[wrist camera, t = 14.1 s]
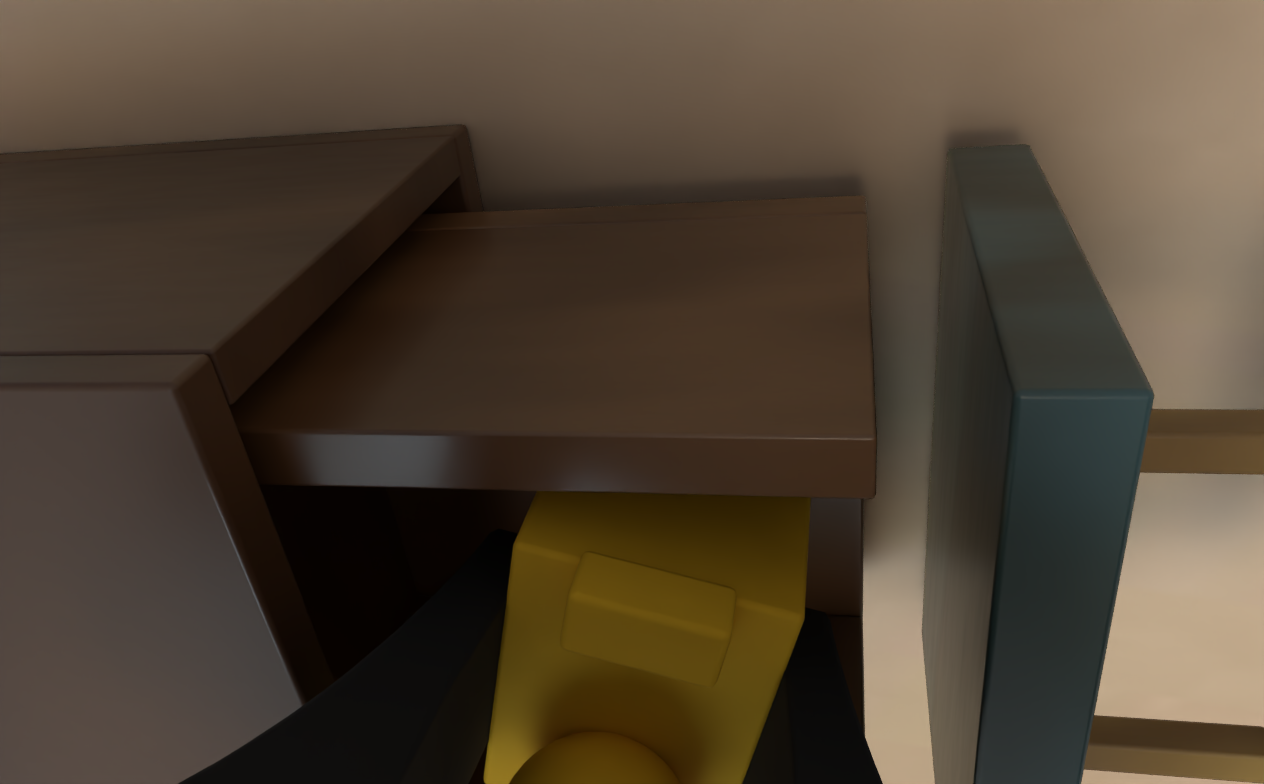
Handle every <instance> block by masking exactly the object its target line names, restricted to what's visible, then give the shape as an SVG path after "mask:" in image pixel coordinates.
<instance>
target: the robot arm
mask: <svg viewBox="0 0 1264 784" xmlns="http://www.w3.org/2000/svg"><path fill="white" fill-rule="evenodd" d="M517 535H518V533H514V532H510V531H506V530H502V529H497V530H495V531H492V532H490V533H489V535H488V536H487V537H486V538H485V540H484V541H483V542H482V543H481V544H480V546H479V547H478V548H477V549H476V550H475V551H474V553H473V554H472V555H471V556H470V557H469V558H468V559H467V561H466V562H465V563H464V564H463V565H462V566H461V567H460V568H459V569H458V570H457V571H456V573H455V574H454V575H453V576H452V577H451V578H450V579H449V580H448V581H447V582H446V583H445V584H444V585H443V586H442V587H441V588H440V589H439V590H438V591H437V592H436V593H435V594H434V595H433V596H432V597H431V598H430V599H429V600H428V601H427V602H426V603H425V604H424V605H423V606H422V607H421V608H419V609H418V610H417V611H416V612H415V613H414V614H413V615H412V616H411V617H410V618H409V619H408V620H407V621H406V622H405V623H404V624H403V625H402V626H401V627H399V628H398V629H397V630H396V631H395V632H394V633H393V634H392V635H390V636H389V637H388V638H387V639H386V640H385V641H383V642H382V643H381V644H380V645H379V646H378V647H376V648H375V649H374V650H373V651H372V652H371V653H369V654H368V655H367V656H366V657H365V658H363V659H362V660H361V661H360V662H359V663H358V664H356V665H355V666H354V667H353V668H352V669H350V670H349V671H348V672H347V673H345V674H344V675H343V676H342V677H340V678H339V679H338V680H336V681H335V682H334V683H333V684H331V685H330V686H329V687H327V688H326V689H325V690H323V691H322V692H321V693H319V694H318V695H317V696H315V697H314V698H313V699H311V700H310V701H308V702H307V703H306V704H304V705H303V706H302V707H300V708H299V709H297V710H296V711H295V712H293V713H292V714H290V715H289V716H287V717H286V718H284V719H283V720H281V721H280V722H278V723H277V724H275V725H274V726H272V727H271V728H269V729H268V730H266V731H265V732H263V733H262V734H260V735H259V736H257V737H256V738H254V739H253V740H251V741H250V742H248V743H247V744H245V745H243V746H242V747H240V748H239V749H237V750H235V751H234V752H232V753H230V754H229V755H227V756H226V757H224V758H222V759H221V760H219V761H217V762H216V763H214V764H212V765H210V766H208V767H207V768H205V769H203V770H201V771H199V772H198V773H196V774H194V775H192V776H190V777H189V778H187V779H185V780H183V781H182V782H180V783H178V784H469V782H470V780H471V777H472V775H473V773H474V771H475V769H476V767H477V764H478V762H479V760H480V758H481V756H482V753H483V751H484V749H485V747H486V745H487V742H488V740H489V732H490V724H491V717H492V709H493V701H494V693H495V686H496V678H497V670H498V662H499V655H500V647H501V639H502V631H503V624H504V616H505V608H506V601H507V590H508V582H509V575H510V567H511V559H512V551H513V544H514V542H515V540H516V537H517ZM743 784H883V783H882V781H881V778H880V776H879V773H878V771H877V768H876V766H875V763H874V760H873V758H872V755H871V752H870V750H869V747H868V744H867V741H866V739H865V736H864V733H863V730H862V728H861V725H860V722H859V720H858V717H857V714H856V711H855V708H854V705H853V702H852V699H851V695H850V692H849V689H848V686H847V682H846V679H845V676H844V672H843V669H842V665H841V662H840V658H839V655H838V651H837V647H836V643H835V639H834V635H833V630H832V626H831V621H830V619H829V618H828V616H827V615H826V613H825V612H822V611H818V610H814V609H810V608H806V607H805V619H804V622H803V625H802V627H801V630H800V633H799V635H798V638H797V641H796V643H795V646H794V649H793V651H792V654H791V657H790V659H789V662H788V665H787V667H786V670H785V671H784V674H783V677H782V679H781V682H780V685H779V687H778V690H777V693H776V695H775V698H774V701H773V703H772V706H771V709H770V711H769V714H768V717H767V720H766V722H765V725H764V728H763V730H762V733H761V736H760V738H759V741H758V744H757V746H756V749H755V752H754V754H753V757H752V760H751V762H750V765H749V768H748V770H747V773H746V776H745V778H744V781H743Z"/></svg>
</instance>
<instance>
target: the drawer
mask: <svg viewBox="0 0 1264 784" xmlns="http://www.w3.org/2000/svg"><path fill="white" fill-rule="evenodd" d="M1153 400H1154V393H1153V390H1152V388H1151V386H1150V384H1149V382H1148V380H1147V378H1146V376H1145V374H1144V372H1143V370H1142V368H1141V366H1140V364H1139V362H1138V360H1137V358H1136V356H1135V354H1134V352H1133V350H1132V348H1131V346H1130V344H1129V342H1128V340H1127V338H1126V336H1125V334H1124V332H1123V330H1122V328H1121V326H1120V324H1119V322H1118V320H1117V318H1116V316H1115V314H1114V312H1113V310H1112V308H1111V306H1110V304H1109V303H1108V301H1107V299H1106V297H1105V295H1104V293H1103V291H1102V289H1101V287H1100V285H1099V283H1098V281H1097V279H1096V277H1095V275H1094V273H1093V271H1092V269H1091V267H1090V265H1089V263H1088V261H1087V259H1086V257H1085V255H1084V253H1083V251H1082V249H1081V247H1080V245H1079V243H1078V241H1077V239H1076V237H1075V235H1074V233H1073V231H1072V229H1071V227H1070V225H1069V223H1068V221H1067V219H1066V217H1065V215H1064V213H1063V211H1062V209H1061V207H1060V205H1059V203H1058V201H1057V199H1056V197H1055V195H1054V193H1053V191H1052V189H1051V187H1050V185H1049V183H1048V181H1047V179H1046V177H1045V175H1044V173H1043V171H1042V169H1041V167H1040V165H1039V163H1038V162H1037V160H1036V158H1035V156H1034V154H1033V152H1032V150H1031V148H1030V146H1029V145H1026V144H1023V145H1004V146H985V147H965V148H952V149H950V150H949V151H948V153H947V167H946V186H945V204H944V223H943V242H942V261H941V280H940V298H939V317H938V336H937V355H936V373H935V392H934V411H933V430H932V449H931V467H930V486H929V505H928V524H927V542H926V561H925V580H924V599H923V618H922V640H923V652H924V663H925V675H926V686H927V698H928V709H929V721H930V732H931V743H932V755H933V766H934V778H935V784H1081V781H1082V776H1083V770H1084V769H1086V770H1099V771H1112V772H1124V773H1137V774H1150V775H1163V776H1175V777H1188V778H1201V779H1214V780H1226V781H1239V782H1252V783H1264V727H1261V726H1247V725H1232V724H1218V723H1203V722H1188V721H1173V720H1158V719H1143V718H1128V717H1113V716H1098V715H1094V712H1095V707H1096V702H1097V696H1098V691H1099V686H1100V680H1101V675H1102V670H1103V665H1104V659H1105V654H1106V649H1107V643H1108V638H1109V633H1110V628H1111V622H1112V617H1113V612H1114V606H1115V601H1116V596H1117V590H1118V585H1119V580H1120V575H1121V569H1122V564H1123V559H1124V553H1125V548H1126V543H1127V538H1128V532H1129V527H1130V522H1131V516H1132V511H1133V506H1134V500H1135V495H1136V490H1137V485H1138V479H1139V474H1140V472H1144V473H1205V474H1264V410H1221V409H1152V405H1153ZM229 408H230V410H231V413H232V415H233V418H234V421H235V423H236V426H237V428H238V431H239V434H240V436H241V439H242V441H243V444H244V447H245V449H246V452H247V454H248V457H249V460H250V462H251V465H252V467H253V470H254V473H255V475H256V478H257V480H258V483H259V486H260V488H261V491H262V494H263V496H264V499H265V501H266V504H267V507H268V509H269V512H270V514H271V517H272V520H273V522H274V525H275V527H276V530H277V533H278V535H279V538H280V540H281V543H282V546H283V548H284V551H285V553H286V556H287V559H288V561H289V564H290V566H291V569H292V572H293V574H294V577H295V579H296V582H297V585H298V587H299V590H300V592H301V595H302V598H303V600H304V603H305V605H306V608H307V611H308V613H309V616H310V618H311V621H312V624H313V626H314V629H315V631H316V634H317V637H318V639H319V642H320V644H321V647H322V650H323V652H324V655H325V658H326V660H327V663H328V665H329V668H330V671H331V673H332V676H333V678H334V681H336V680H338V679H339V678H340V677H342V676H343V675H344V674H345V673H347V672H348V671H349V670H350V669H352V668H353V667H354V666H355V665H356V664H358V663H359V662H360V661H361V660H362V659H363V658H365V657H366V656H367V655H368V654H369V653H371V652H372V651H373V650H374V649H375V648H376V647H378V646H379V645H380V644H381V643H382V642H383V641H385V640H386V639H387V638H388V637H389V636H390V635H392V634H393V633H394V632H395V631H396V630H397V629H398V628H399V627H401V626H402V625H403V624H404V623H405V622H406V621H407V620H408V619H409V618H410V617H411V616H412V615H413V614H414V613H415V612H416V611H417V610H418V609H419V608H421V607H422V606H423V605H424V604H425V603H426V602H427V601H428V600H429V599H430V598H431V597H432V596H433V595H434V594H435V593H436V592H437V591H438V590H439V589H440V588H441V587H442V586H443V585H444V584H445V583H446V582H447V581H448V580H449V579H450V578H451V577H452V576H453V575H454V574H455V573H456V571H457V570H458V569H459V568H460V567H461V566H462V565H463V564H464V563H465V562H466V561H467V559H468V558H469V557H470V556H471V555H472V554H473V553H474V551H475V550H476V549H477V548H478V547H479V546H480V544H481V543H482V542H483V541H484V540H485V538H486V537H487V536H488V535H489V533H490V532H492V531H495V530H497V529H502V530H506V531H510V532H514V533H519V530H520V528H521V526H522V524H523V521H524V519H525V517H526V515H527V512H528V510H529V508H530V506H531V503H532V501H533V499H534V496H535V494H536V492H537V491H552V492H595V493H638V494H681V495H724V496H767V497H811V505H810V524H809V543H808V562H807V581H806V600H805V607H806V608H810V609H814V610H818V611H822V612H825V613H826V615H827V616H828V618H829V619H830V621H831V626H832V630H833V635H834V639H835V643H836V647H837V651H838V655H839V658H840V662H841V665H842V669H843V672H844V676H845V679H846V682H847V686H848V689H849V692H850V695H851V699H852V702H853V705H854V708H855V711H856V714H857V717H858V720H859V722H860V725H861V728H862V730H863V733H864V736H865V715H864V659H863V541H864V499H872V498H874V496H875V495H876V463H877V428H876V405H875V383H874V360H873V338H872V316H871V293H870V271H869V249H868V226H867V205H866V198H865V196H862V195H859V196H836V197H813V198H790V199H766V200H743V201H720V202H696V203H673V204H650V205H626V206H603V207H580V208H557V209H533V210H510V211H487V212H463V213H440V214H421V215H420V216H419V217H418V218H417V219H416V220H415V222H414V223H413V224H412V225H411V226H410V227H409V228H408V229H407V230H406V231H405V232H404V233H403V234H402V235H401V236H400V237H399V238H398V239H397V240H396V241H395V242H394V243H393V244H392V245H391V246H390V247H389V248H388V249H387V250H386V251H385V252H384V253H383V254H382V255H381V256H380V257H379V258H378V259H377V260H376V261H375V262H374V263H373V264H372V265H371V266H370V267H369V268H368V269H367V270H366V271H365V272H364V273H363V274H362V275H361V276H360V277H359V278H358V279H357V280H356V281H355V282H354V283H353V284H352V285H351V286H350V287H349V288H348V289H347V290H346V291H345V292H344V293H343V294H342V295H341V296H340V297H339V298H338V299H337V300H336V301H335V302H334V303H333V304H332V305H331V306H330V307H329V308H328V309H327V310H326V311H325V312H324V313H323V314H322V315H321V316H320V317H319V318H318V319H317V320H316V321H315V322H314V323H313V324H312V325H311V326H310V327H309V328H308V329H307V330H306V331H305V332H304V333H303V334H302V335H301V336H300V337H299V338H298V339H297V340H296V341H295V342H294V343H293V344H292V345H291V347H290V348H289V349H288V350H287V351H286V352H285V353H284V354H283V355H282V356H281V357H280V358H279V359H278V360H277V361H276V362H275V363H274V364H273V365H272V366H271V367H270V368H269V369H268V370H267V371H266V372H265V373H264V374H263V375H262V376H261V377H260V378H259V379H258V380H257V381H256V382H255V383H254V384H253V385H252V386H251V387H250V388H249V389H248V390H247V391H246V392H245V393H244V394H243V395H242V396H241V397H240V398H239V399H238V400H237V401H236V402H235V403H234V404H232V405H229ZM487 745H488V742H487ZM487 745H486V747H485V749H484V751H483V753H482V756H481V758H480V760H479V762H478V764H477V767H476V769H475V771H474V773H473V775H472V777H471V780H470V782H469V784H486V783H484V778H483V776H484V768H485V761H486V753H487Z"/></svg>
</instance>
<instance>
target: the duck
mask: <svg viewBox="0 0 1264 784" xmlns="http://www.w3.org/2000/svg"><path fill="white" fill-rule="evenodd" d="M810 505H811V497H767V496H724V495H681V494H638V493H595V492H552V491H537V492H536V494H535V496H534V499H533V501H532V503H531V506H530V508H529V510H528V512H527V515H526V517H525V519H524V521H523V524H522V526H521V528H520V530H519V533H518V535H517V537H516V540H515V542H514V544H513V551H512V559H511V567H510V575H509V582H508V590H507V601H506V608H505V616H504V624H503V631H502V639H501V647H500V655H499V662H498V670H497V678H496V686H495V693H494V701H493V709H492V717H491V724H490V732H489V740H488V745H487V753H486V761H485V768H484V776H483V778H484V783H486V784H743V781H744V778H745V776H746V773H747V770H748V768H749V765H750V762H751V760H752V757H753V754H754V752H755V749H756V746H757V744H758V741H759V738H760V736H761V733H762V730H763V728H764V725H765V722H766V720H767V717H768V714H769V711H770V709H771V706H772V703H773V701H774V698H775V695H776V693H777V690H778V687H779V685H780V682H781V679H782V677H783V674H784V671H785V670H786V667H787V665H788V662H789V659H790V657H791V654H792V651H793V649H794V646H795V643H796V641H797V638H798V635H799V633H800V630H801V627H802V625H803V622H804V619H805V600H806V581H807V562H808V543H809V524H810Z"/></svg>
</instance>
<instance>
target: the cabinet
mask: <svg viewBox="0 0 1264 784" xmlns="http://www.w3.org/2000/svg"><path fill="white" fill-rule="evenodd" d="M463 212H483V207H482V202H481V197H480V192H479V187H478V182H477V177H476V172H475V167H474V162H473V157H472V152H471V147H470V143H469V138H468V133H467V128H466V126H464V125H450V126H435V127H419V128H403V129H388V130H372V131H356V132H341V133H325V134H309V135H294V136H278V137H262V138H247V139H231V140H216V141H200V142H184V143H169V144H153V145H137V146H122V147H106V148H90V149H75V150H59V151H43V152H28V153H12V154H0V784H178V783H180V782H182V781H183V780H185V779H187V778H189V777H190V776H192V775H194V774H196V773H198V772H199V771H201V770H203V769H205V768H207V767H208V766H210V765H212V764H214V763H216V762H217V761H219V760H221V759H222V758H224V757H226V756H227V755H229V754H230V753H232V752H234V751H235V750H237V749H239V748H240V747H242V746H243V745H245V744H247V743H248V742H250V741H251V740H253V739H254V738H256V737H257V736H259V735H260V734H262V733H263V732H265V731H266V730H268V729H269V728H271V727H272V726H274V725H275V724H277V723H278V722H280V721H281V720H283V719H284V718H286V717H287V716H289V715H290V714H292V713H293V712H295V711H296V710H297V709H299V708H300V707H302V706H303V705H304V704H306V703H307V702H308V701H310V700H311V699H313V698H314V697H315V696H317V695H318V694H319V693H321V692H322V691H323V690H325V689H326V688H327V687H329V686H330V685H331V684H333V683H334V682H335V681H334V678H333V676H332V673H331V671H330V668H329V665H328V663H327V660H326V658H325V655H324V652H323V650H322V647H321V644H320V642H319V639H318V637H317V634H316V631H315V629H314V626H313V624H312V621H311V618H310V616H309V613H308V611H307V608H306V605H305V603H304V600H303V598H302V595H301V592H300V590H299V587H298V585H297V582H296V579H295V577H294V574H293V572H292V569H291V566H290V564H289V561H288V559H287V556H286V553H285V551H284V548H283V546H282V543H281V540H280V538H279V535H278V533H277V530H276V527H275V525H274V522H273V520H272V517H271V514H270V512H269V509H268V507H267V504H266V501H265V499H264V496H263V494H262V491H261V488H260V486H259V483H258V480H257V478H256V475H255V473H254V470H253V467H252V465H251V462H250V460H249V457H248V454H247V452H246V449H245V447H244V444H243V441H242V439H241V436H240V434H239V431H238V428H237V426H236V423H235V421H234V418H233V415H232V413H231V410H230V408H229V405H232V404H234V403H235V402H236V401H237V400H238V399H239V398H240V397H241V396H242V395H243V394H244V393H245V392H246V391H247V390H248V389H249V388H250V387H251V386H252V385H253V384H254V383H255V382H256V381H257V380H258V379H259V378H260V377H261V376H262V375H263V374H264V373H265V372H266V371H267V370H268V369H269V368H270V367H271V366H272V365H273V364H274V363H275V362H276V361H277V360H278V359H279V358H280V357H281V356H282V355H283V354H284V353H285V352H286V351H287V350H288V349H289V348H290V347H291V345H292V344H293V343H294V342H295V341H296V340H297V339H298V338H299V337H300V336H301V335H302V334H303V333H304V332H305V331H306V330H307V329H308V328H309V327H310V326H311V325H312V324H313V323H314V322H315V321H316V320H317V319H318V318H319V317H320V316H321V315H322V314H323V313H324V312H325V311H326V310H327V309H328V308H329V307H330V306H331V305H332V304H333V303H334V302H335V301H336V300H337V299H338V298H339V297H340V296H341V295H342V294H343V293H344V292H345V291H346V290H347V289H348V288H349V287H350V286H351V285H352V284H353V283H354V282H355V281H356V280H357V279H358V278H359V277H360V276H361V275H362V274H363V273H364V272H365V271H366V270H367V269H368V268H369V267H370V266H371V265H372V264H373V263H374V262H375V261H376V260H377V259H378V258H379V257H380V256H381V255H382V254H383V253H384V252H385V251H386V250H387V249H388V248H389V247H390V246H391V245H392V244H393V243H394V242H395V241H396V240H397V239H398V238H399V237H400V236H401V235H402V234H403V233H404V232H405V231H406V230H407V229H408V228H409V227H410V226H411V225H412V224H413V223H414V222H415V220H416V219H417V218H418V217H419V216H420V215H421V214H440V213H463Z"/></svg>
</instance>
